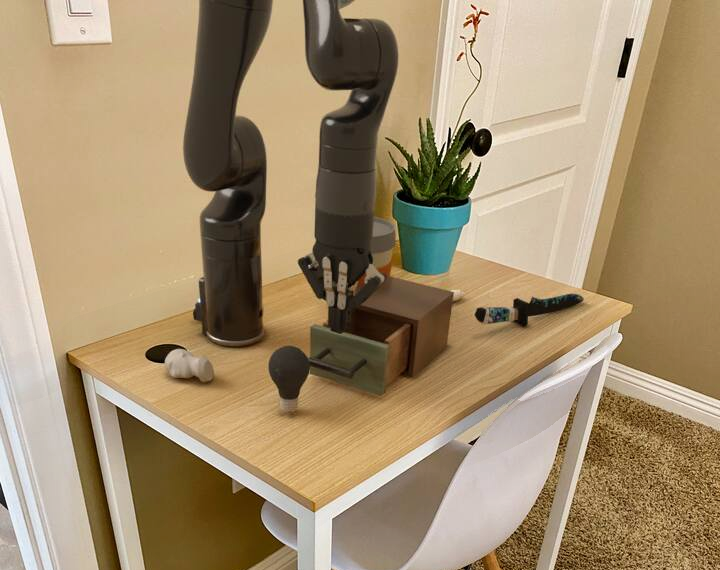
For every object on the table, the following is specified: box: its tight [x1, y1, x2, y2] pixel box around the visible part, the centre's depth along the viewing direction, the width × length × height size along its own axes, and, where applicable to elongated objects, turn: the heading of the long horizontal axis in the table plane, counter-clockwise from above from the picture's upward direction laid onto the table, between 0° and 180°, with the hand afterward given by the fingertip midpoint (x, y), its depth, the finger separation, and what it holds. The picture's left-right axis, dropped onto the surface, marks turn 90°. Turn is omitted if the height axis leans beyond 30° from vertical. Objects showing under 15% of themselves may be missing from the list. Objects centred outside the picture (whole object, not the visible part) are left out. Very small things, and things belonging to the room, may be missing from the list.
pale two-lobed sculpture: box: [164, 348, 215, 383], centre depth 112 cm, size 4×8×5 cm
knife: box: [474, 293, 585, 327], centre depth 136 cm, size 31×3×4 cm, turn 125°
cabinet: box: [354, 275, 454, 379], centre depth 121 cm, size 14×14×10 cm
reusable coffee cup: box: [357, 216, 397, 288], centre depth 133 cm, size 12×13×15 cm
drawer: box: [308, 308, 413, 397], centre depth 112 cm, size 18×12×8 cm
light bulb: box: [267, 345, 310, 414], centre depth 103 cm, size 6×6×10 cm
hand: (338, 330), depth 104 cm, fingers closed
